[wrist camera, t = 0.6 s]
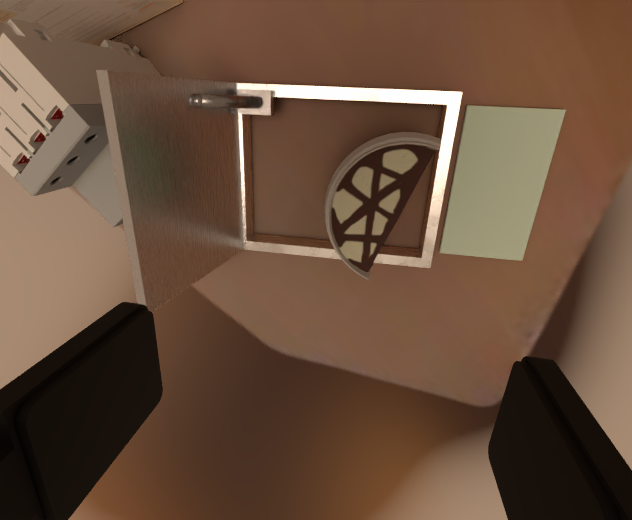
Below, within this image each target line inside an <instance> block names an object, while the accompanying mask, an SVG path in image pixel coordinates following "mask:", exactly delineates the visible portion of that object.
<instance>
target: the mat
mask: <svg viewBox="0 0 632 520" xmlns="http://www.w3.org/2000/svg"><path fill="white" fill-rule="evenodd" d="M565 111H566V110H559V109H537V108H514V107H491V106H469V105H466V110H465V115H464V120H463V125H462V131H461V136H460V141H459V147H458V152H457V157H456V163H455V168H454V173H453V179H452V184H451V189H450V194H449V200H448V205H447V210H446V216H445V221H444V226H443V232H442V237H441V242H440V248H439V252H440V253H446V254H456V255H467V256H477V257H487V258H498V259H508V260H519V261H522V260H523V256H524V253H525V249H526V246H527V242H528V239H529V236H530V232H531V229H532V225H533V222H534V218H535V215H536V211H537V208H538V204H539V201H540V198H541V194H542V191H543V187H544V184H545V180H546V177H547V173H548V170H549V166H550V163H551V160H552V156H553V153H554V149H555V146H556V142H557V139H558V135H559V132H560V129H561V125H562V122H563V118H564V115H565Z"/></svg>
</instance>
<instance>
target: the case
mask: <svg viewBox="0 0 632 520" xmlns="http://www.w3.org/2000/svg"><path fill="white" fill-rule="evenodd" d="M96 73H97V78H98V84H99V89H100V95H101V101H102V106H103V112H104V118H105V123H106V129H107V135H108V140H109V146H110V151H111V157H112V163H113V168H114V174H115V180H116V185H117V191H118V197H119V202H120V208H121V213H122V219H123V225H124V230H125V235H126V241H127V247H128V253H129V258H130V264H131V269H132V275H133V281H134V286H135V292H136V298H137V304H143V305H145V306H147V308H148V311H151V312H153V311H154V310H156V309H157V308H159V307H160V306H162V305H163V304H164V303H166V302H167V301H169V300H170V299H172V298H173V297H175V296H176V295H178V294H179V293H181V292H182V291H184V290H185V289H186V288H188V287H189V286H191V285H192V284H194V283H195V282H197V281H198V280H200V279H201V278H203V277H204V276H206V275H207V274H208V273H210V272H211V271H213V270H214V269H216V268H217V267H219V266H220V265H222V264H223V263H225V262H226V261H227V260H229V259H230V258H232V257H233V256H235V255H236V254H238V253H239V252H241V251H242V250H244V249H245V250H255V251H265V252H275V253H285V254H294V255H304V256H314V257H324V258H334V259H341V258H340V257H339V255H338V254H337V253H336V251H335V249H334V247H333V245H332V243H331V241H330V240H321V239H310V238H300V237H289V236H279V235H268V234H258V233H254V213H253V178H252V142H251V114H254V115H274V97H288V98H310V99H333V100H356V101H378V102H401V103H423V104H443V108H442V114H441V120H440V126H439V132H438V138H439V139H441V146H440V150H436V151H435V157H434V163H433V169H432V175H431V181H430V187H429V193H428V199H427V205H426V211H425V217H424V223H423V229H422V235H421V242H420V248H419V249H415V248H404V247H394V246H382V248H381V249H380V251H379V253H378V255H377V257H376V258H375V260H374V262H373V263H383V264H393V265H403V266H413V267H422V268H430V267H431V262H432V256H433V251H434V245H435V240H436V234H437V229H438V223H439V218H440V212H441V207H442V202H443V196H444V191H445V185H446V180H447V174H448V169H449V163H450V158H451V152H452V147H453V141H454V136H455V130H456V125H457V119H458V114H459V108H460V103H461V97H462V92H451V91H426V90H401V89H376V88H350V87H325V86H300V85H275V84H250V83H232V82H222V81H212V80H202V79H191V78H181V77H171V76H161V75H151V74H140V73H130V72H120V71H110V70H96Z"/></svg>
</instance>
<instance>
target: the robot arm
mask: <svg viewBox="0 0 632 520" xmlns="http://www.w3.org/2000/svg"><path fill="white" fill-rule="evenodd" d="M162 391H163V388H162V381H161V372H160V365H159V358H158V349H157V341H156V334H155V326H154V318H153V314H152V312H151V311H148V308H147V306H145V305H143V304H136V303H129V302H122V303H120V304H119V305H117V306H116V307H114V308H113V309H112V310H110V311H109V312H107V313H106V314H105V315H103V316H102V317H100V318H99V319H98V320H96V321H95V322H94V323H92V324H91V325H90V326H88V327H87V328H85V329H84V330H82V331H81V332H80V333H78V334H77V335H76V336H74V337H73V338H71V339H70V340H68V341H67V342H66V343H64V344H63V345H62V346H60V347H59V348H58V349H56V350H55V351H53V352H52V353H50V354H49V355H48V356H46V357H45V358H43V359H42V360H41V361H39V362H38V363H36V364H35V365H34V366H32V367H31V368H30V369H28V370H27V371H25V372H24V373H23V374H21V375H20V376H18V377H17V378H16V379H15V380H13V381H11V382H10V383H9V384H7V385H6V386H4V387H3V388H2V389H0V520H68V519H69V518H70V517H71V515H72V514H73V513H74V511H75V510H76V509H77V507H78V506H79V505H80V504H81V502H82V501H83V500H84V498H85V497H86V496H87V495H88V493H89V492H90V491H91V489H92V488H93V487H94V486H95V484H96V483H97V482H98V480H99V479H100V478H101V477H102V475H103V474H104V473H105V472H106V470H107V469H108V468H109V466H110V465H111V464H112V462H113V461H114V460H115V459H116V457H117V456H118V454H119V453H120V452H121V451H122V450H123V448H124V447H125V445H126V444H127V443H128V442H129V440H130V439H131V438H132V437H133V435H134V434H135V433H136V431H137V430H138V429H139V428H140V426H141V425H142V424H143V422H144V421H145V420H146V419H147V417H148V416H149V414H150V413H151V412H152V411H153V410H154V408H155V407H156V406H157V404H158V403H159V401H160V399H161V396H162ZM488 454H489V460H490V464H491V467H492V470H493V473H494V476H495V479H496V483H497V486H498V489H499V492H500V495H501V498H502V502H503V505H504V508H505V511H506V515H507V518H508V520H632V470H631V469H630V468H629V466H628V465H627V464H626V462H625V460H624V459H623V458H622V456H621V455H620V453H619V452H618V450H617V449H616V448H615V446H614V445H613V443H612V442H611V440H610V439H609V438H608V436H607V435H606V433H605V432H604V431H603V429H602V428H601V426H600V425H599V424H598V422H597V421H596V419H595V418H594V416H593V415H592V414H591V412H590V411H589V409H588V408H587V407H586V405H585V404H584V403H583V401H582V400H581V398H580V397H579V395H578V394H577V392H576V391H575V389H574V388H573V387H572V385H571V384H570V382H569V381H568V380H567V378H566V377H565V375H564V374H563V373H562V371H561V370H560V368H559V367H558V366H557V364H556V363H555V362H554V361H553V360H550V359H543V358H536V357H529V356H526V357H524V358H523V359H522V361H521V362H520V361H516V362H515V363H514V364H513V367H512V370H511V373H510V377H509V380H508V383H507V386H506V390H505V393H504V396H503V399H502V403H501V406H500V409H499V413H498V416H497V419H496V422H495V426H494V429H493V432H492V435H491V439H490V442H489V447H488Z"/></svg>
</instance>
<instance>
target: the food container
mask: <svg viewBox="0 0 632 520" xmlns="http://www.w3.org/2000/svg"><path fill="white" fill-rule="evenodd" d="M440 146H441V139H439V138H437V137H434V136H431V135H428V134H422V133H417V132H397V133H390V134H386V135H383V136H379V137H376V138H374V139H372V140H370V141H368V142H366V143H364V144H362V145H361V146H359V147H358V148H356V149H355V150H354V151H352V152H351V153H350V154H349V155H348V156H347V157H346V158H345V159H344V160H343V161H342V163H341V164H340V165H339V167H338V168H337V169H336V171H335V173H334V175H333V176H332V178H331V180H330V183H329V186H328V189H327V191H326V197H325V203H324V216H325V223H326V228H327V232H328V235H329V238H330V241H331V243H332V245H333V247H334V249H335V251H336V253H337V254H338V255H339V257H340V258H341V259H342V261H343V262H344V263H345V264H346V265H347V266H348V267H349V268H351V269H352V270H353V271H355V272H356V273H357V274H359V275H360V276H362V277H364V278H366V279H367V280H368V278H369V272H370V268H371V267H372V265H373V262H374V260H375V258H376V257H377V255H378V253H379V251H380V249H381V248H382V246H383V244H384V242H385V241H386V239H387V237H388V235H389V233H390V232H391V230H392V228H393V227H394V225H395V223H396V221H397V220H398V218H399V216H400V214H401V212H402V210H403V209H404V207H405V205H406V203H407V201H408V199H409V197H410V195H411V194H412V192H413V190H414V188H415V186H416V184H417V183H418V181H419V179H420V177H421V175H422V173H423V172H424V170H425V168H426V166H427V164H428V162H429V161H430V159H431V157H432V155H433V153H434V151H435V150H440Z"/></svg>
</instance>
